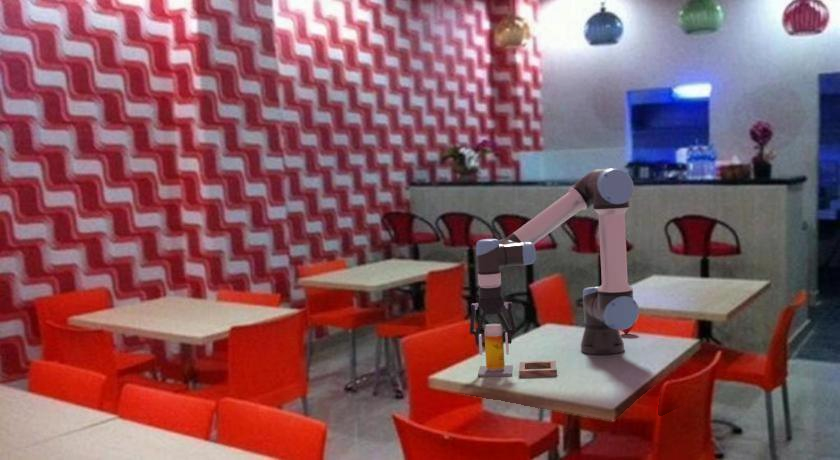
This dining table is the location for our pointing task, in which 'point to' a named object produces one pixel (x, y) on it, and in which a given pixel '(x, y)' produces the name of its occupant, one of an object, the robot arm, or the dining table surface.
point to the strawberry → (628, 329)
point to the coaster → (485, 372)
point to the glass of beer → (494, 347)
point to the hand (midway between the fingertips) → (494, 353)
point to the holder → (530, 370)
